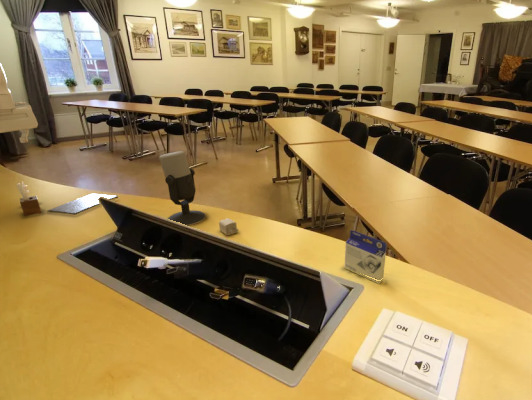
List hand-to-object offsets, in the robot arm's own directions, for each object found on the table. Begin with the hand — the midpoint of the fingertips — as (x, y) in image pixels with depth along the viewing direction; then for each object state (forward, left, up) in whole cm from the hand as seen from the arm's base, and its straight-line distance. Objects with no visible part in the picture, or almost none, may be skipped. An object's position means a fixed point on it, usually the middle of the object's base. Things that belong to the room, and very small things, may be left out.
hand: (10, 144), depth 111 cm
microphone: (+58, +10, -26) cm, 64 cm away
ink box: (+125, -11, -26) cm, 128 cm away
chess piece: (-10, +6, -26) cm, 29 cm away
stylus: (0, 0, -26) cm, 26 cm away
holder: (0, 0, -26) cm, 26 cm away
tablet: (+11, +12, -26) cm, 31 cm away
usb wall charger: (+79, +3, -26) cm, 83 cm away
